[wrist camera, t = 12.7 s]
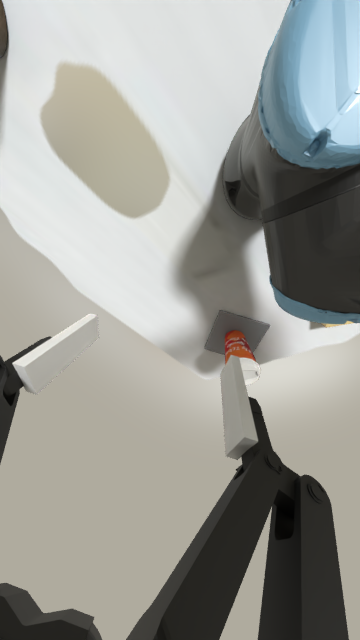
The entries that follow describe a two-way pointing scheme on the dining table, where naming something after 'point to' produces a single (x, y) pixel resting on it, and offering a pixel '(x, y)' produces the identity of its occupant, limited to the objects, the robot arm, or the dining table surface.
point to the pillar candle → (2, 30)
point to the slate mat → (234, 322)
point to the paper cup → (242, 355)
